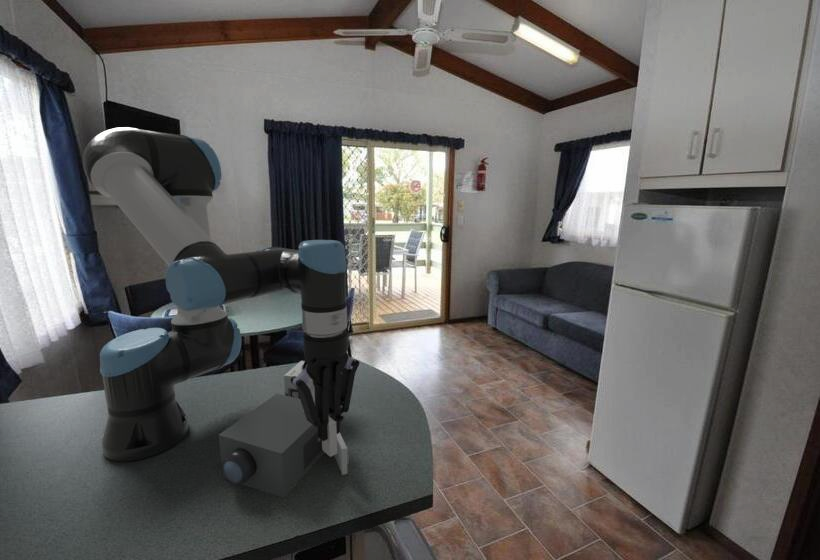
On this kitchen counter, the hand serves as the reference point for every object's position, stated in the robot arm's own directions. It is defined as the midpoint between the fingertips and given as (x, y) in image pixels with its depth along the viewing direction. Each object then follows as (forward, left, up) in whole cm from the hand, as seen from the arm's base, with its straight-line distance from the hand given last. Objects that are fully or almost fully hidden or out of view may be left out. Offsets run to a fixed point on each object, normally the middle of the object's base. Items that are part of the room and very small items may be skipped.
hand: (329, 451), depth 68 cm
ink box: (-18, +17, -6) cm, 26 cm away
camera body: (-12, 0, -6) cm, 13 cm away
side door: (-1, +5, -5) cm, 7 cm away
